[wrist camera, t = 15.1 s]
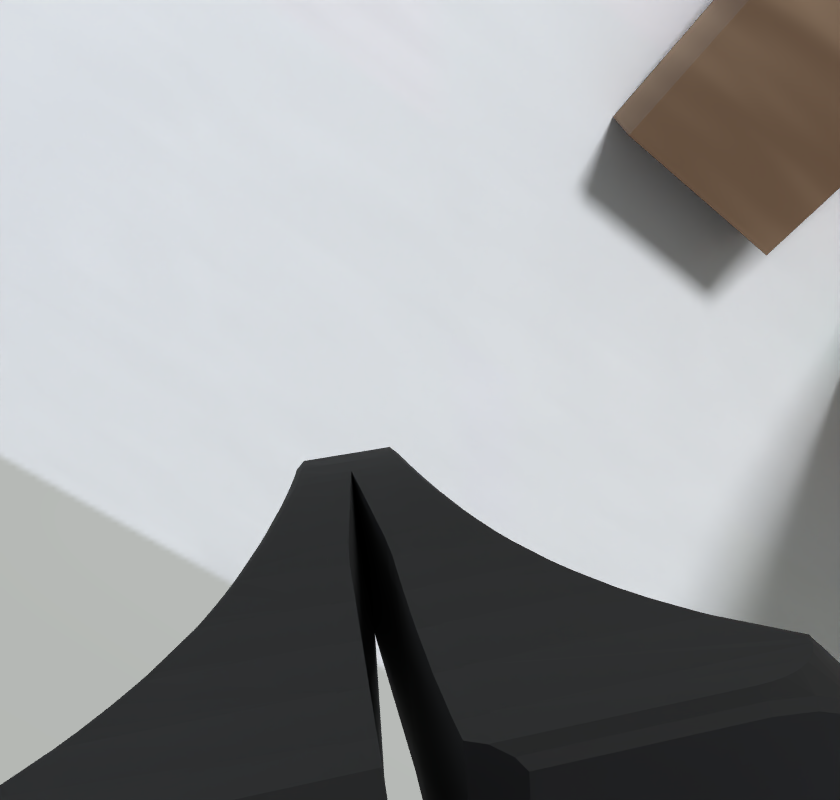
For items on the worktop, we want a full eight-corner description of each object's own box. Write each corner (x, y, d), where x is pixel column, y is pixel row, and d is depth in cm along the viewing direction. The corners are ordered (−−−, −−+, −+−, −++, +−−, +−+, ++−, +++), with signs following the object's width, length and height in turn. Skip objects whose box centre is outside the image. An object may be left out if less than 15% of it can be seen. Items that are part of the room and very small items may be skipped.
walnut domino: (766, 255, 19) (1080, -36, 15) (628, 135, 17) (948, -225, 14) (743, 230, 20) (1027, -43, 17) (613, 116, 19) (900, -216, 15)
